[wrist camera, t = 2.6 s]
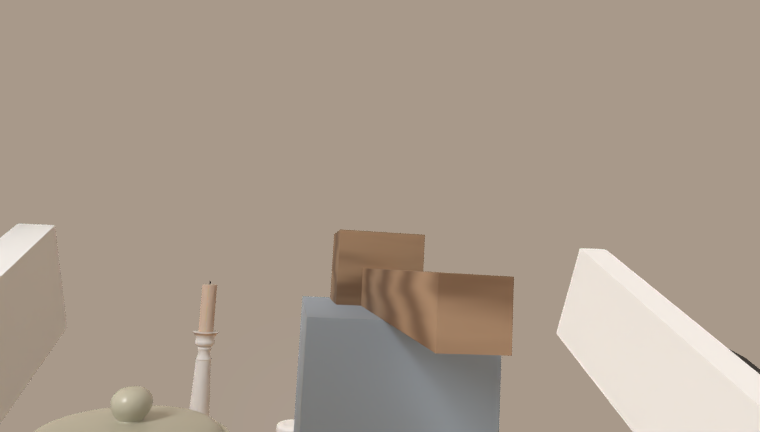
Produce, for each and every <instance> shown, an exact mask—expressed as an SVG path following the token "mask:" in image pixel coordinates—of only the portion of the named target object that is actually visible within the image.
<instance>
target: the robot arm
mask: <svg viewBox="0 0 760 432" xmlns="http://www.w3.org/2000/svg"><path fill="white" fill-rule="evenodd" d="M66 328H67V322H66V314H65V306H64V297H63V290H62V281H61V272H60V264H59V257H58V247H57V239H56V231H55V225H38V224H37V225H35V224H17V225H16V226H15V227H13V228H12V229H11V230H9V231H8V232H7V233H6V234H5V235H3V236H2V237H1V238H0V424H1V422H2V421H3V419H4V418H5V416H6V415H7V413H8V412H9V411H10V409H11V408H12V406H13V405H14V403H15V402H16V400H17V399H18V398H19V396H20V395H21V393H22V392H23V390H24V389H25V388H26V386H27V385H28V383H29V382H30V380H31V379H32V377H33V376H34V375H35V373H36V372H37V370H38V369H39V367H40V366H41V364H42V363H43V362H44V360H45V358H46V357H47V356H48V354H49V353H50V351H51V350H52V348H53V347H54V345H55V344H56V343H57V341H58V340H59V338H60V337H61V336H62V334H63V333H64V331H65V330H66ZM557 335H558V336H559V337H560V339H561V340H562V341H563V342H564V344H565V345H566V346H567V348H568V349H569V350H570V352H571V353H572V354H573V355H574V357H575V358H576V359H577V361H578V362H579V363H580V364H581V366H582V367H583V368H584V370H585V371H586V372H587V373H588V375H589V376H590V377H591V379H592V380H593V381H594V382H595V384H596V385H597V386H598V387H599V389H600V390H601V391H602V393H603V394H604V395H605V396H606V398H607V399H608V400H609V402H610V403H611V404H612V405H613V407H614V408H615V409H616V411H617V412H618V413H619V414H620V416H621V417H622V418H623V420H624V421H625V422H626V424H627V425H628V426H629V427H630V429H631V430H632V431H633V432H760V369H758V368H757V367H756V366H755V365H754V364H752V363H751V362H750V361H748V360H747V359H746V358H744V357H743V356H741V355H739V354H737V353H735V352H734V351H731V350H730V349H728V348H726V347H725V346H724V345H723V344H722V343H720V342H719V341H718V340H717V339H716V338H714V337H713V336H712V335H711V334H709V333H708V332H707V331H706V330H704V329H703V328H702V327H701V326H700V325H698V324H697V323H696V322H695V321H693V320H692V319H691V318H690V317H688V316H687V315H686V314H685V313H683V312H682V311H681V310H680V309H678V308H677V307H676V306H675V305H674V304H672V303H671V302H670V301H669V300H667V299H666V298H665V297H664V296H663V295H661V294H660V293H659V292H658V291H656V290H655V289H654V288H653V287H651V286H650V285H649V284H648V283H646V282H645V281H644V280H643V279H641V278H640V277H639V276H638V275H637V274H635V273H634V272H633V271H632V270H630V269H629V268H628V267H627V266H625V265H624V264H623V263H622V262H621V261H619V260H618V259H617V258H616V257H614V256H613V255H612V254H611V253H610V252H608V251H607V250H606V249H587V248H586V249H585V248H580V250H579V254H578V258H577V261H576V265H575V268H574V272H573V276H572V279H571V283H570V287H569V290H568V294H567V297H566V301H565V304H564V308H563V311H562V315H561V319H560V322H559V326H558V330H557Z"/></svg>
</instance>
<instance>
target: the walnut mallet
mask: <svg viewBox="0 0 760 432" xmlns="http://www.w3.org/2000/svg"><path fill="white" fill-rule="evenodd" d="M424 242H425V235H419V234H401V233H387V232H371V231H355V230H339V231H338V232H337V233H335V234H334V246H333V262H332V263H333V264H332V279H331V295H330V299H331V300H332V301H333V302H334V303H335V304H336V305H358V306H362V307H364V308H365V309H367V310H368V311H370V312H372V313H373V314H375V315H376V316H378V317H379V318H381V319H383V320H384V321H386V322H387V323H389V324H390V325H392V326H393V327H395V328H397V329H398V330H400V331H401V332H403V333H404V334H406V335H408V336H409V337H411V338H412V339H414V340H415V341H417V342H418V343H420V344H422V345H423V346H425V347H426V348H428V349H429V350H431V351H433V352H434V353H437V354H472V355H508V356H509V355H510V356H511V355H512V325H513V287H514V277H507V276H490V275H473V274H457V273H441V272H440V273H439V272H424V271H423V262H424Z"/></svg>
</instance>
